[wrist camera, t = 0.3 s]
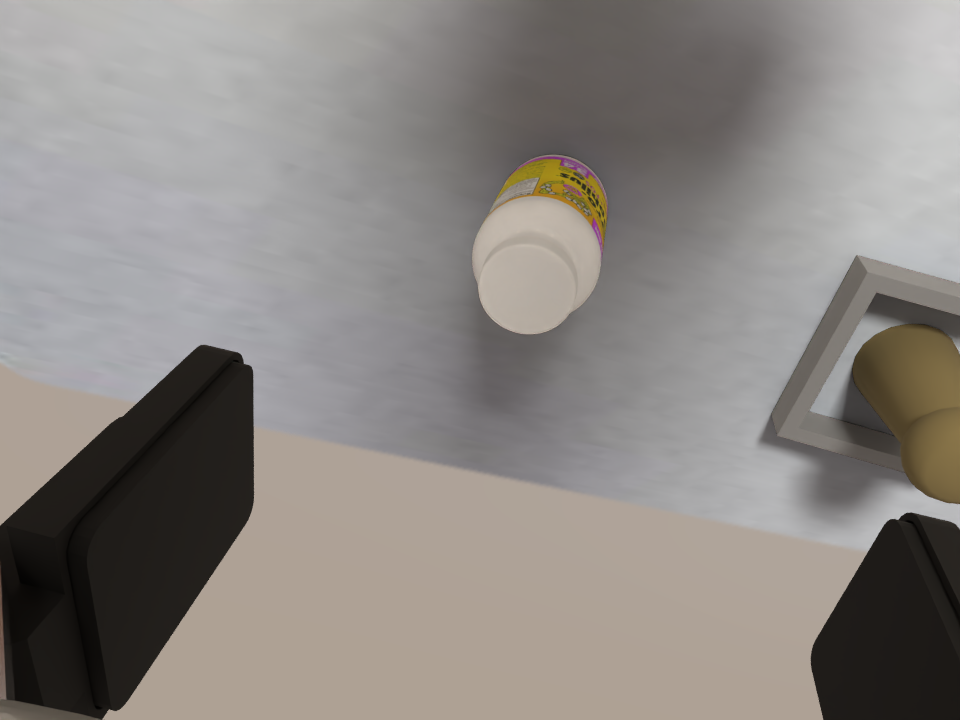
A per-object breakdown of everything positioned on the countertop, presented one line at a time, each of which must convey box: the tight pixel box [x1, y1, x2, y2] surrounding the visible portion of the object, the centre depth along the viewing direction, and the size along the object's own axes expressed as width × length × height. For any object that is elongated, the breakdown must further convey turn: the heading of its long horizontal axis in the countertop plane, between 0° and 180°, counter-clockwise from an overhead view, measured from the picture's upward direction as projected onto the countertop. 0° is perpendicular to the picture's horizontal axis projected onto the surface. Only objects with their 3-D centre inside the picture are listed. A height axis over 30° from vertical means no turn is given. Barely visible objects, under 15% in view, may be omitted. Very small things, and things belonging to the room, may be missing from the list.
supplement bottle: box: [472, 155, 608, 334], centre depth 40 cm, size 7×7×13 cm
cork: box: [852, 324, 960, 504], centre depth 42 cm, size 6×6×11 cm
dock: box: [772, 255, 960, 473], centre depth 46 cm, size 12×11×2 cm
